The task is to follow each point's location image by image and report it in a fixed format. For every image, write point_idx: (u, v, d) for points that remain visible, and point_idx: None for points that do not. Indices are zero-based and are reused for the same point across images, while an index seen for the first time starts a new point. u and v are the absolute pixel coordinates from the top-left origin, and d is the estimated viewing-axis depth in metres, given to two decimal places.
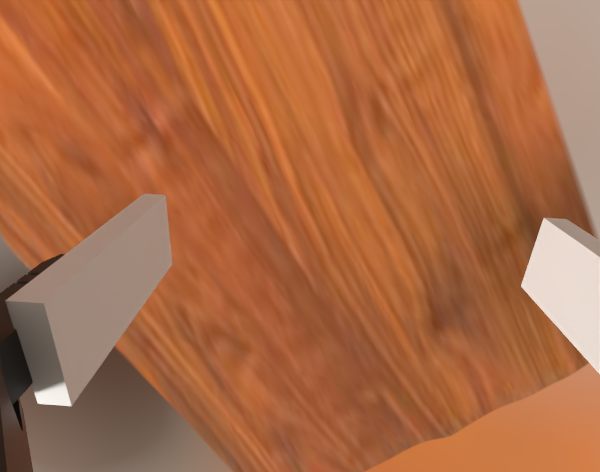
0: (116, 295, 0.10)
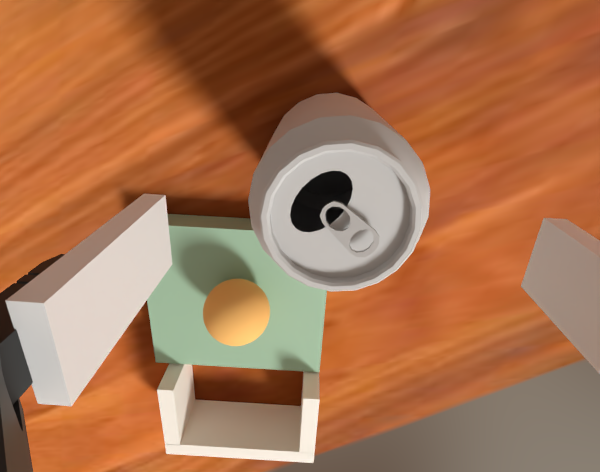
0: (116, 295, 0.10)
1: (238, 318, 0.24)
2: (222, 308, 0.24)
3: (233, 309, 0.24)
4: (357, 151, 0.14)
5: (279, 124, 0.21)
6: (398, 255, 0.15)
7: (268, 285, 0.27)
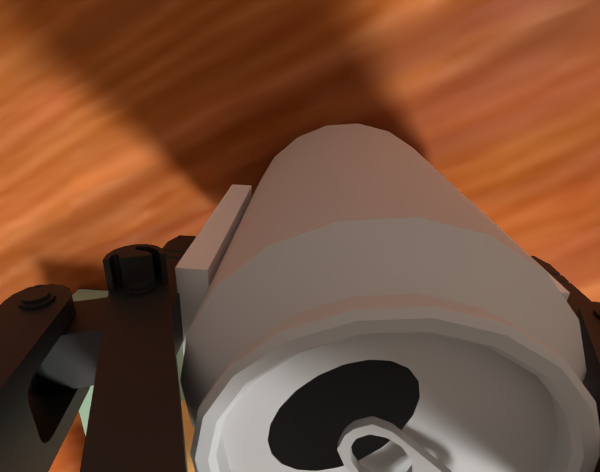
0: None
1: None
2: None
3: None
4: (446, 336, 0.05)
5: (263, 179, 0.13)
6: None
7: None
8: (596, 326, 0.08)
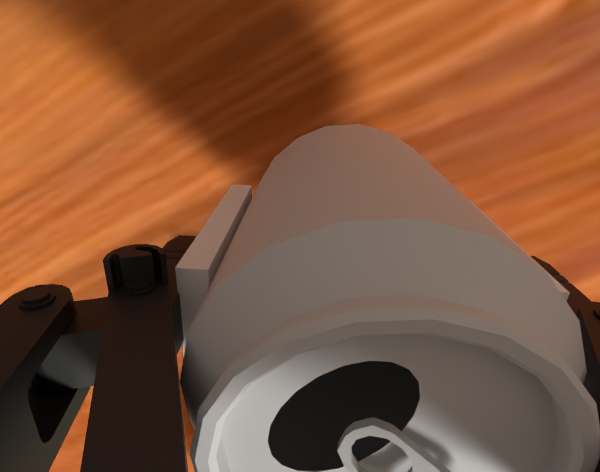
0: None
1: None
2: None
3: None
4: (448, 337, 0.05)
5: (263, 179, 0.13)
6: None
7: None
8: (595, 326, 0.08)
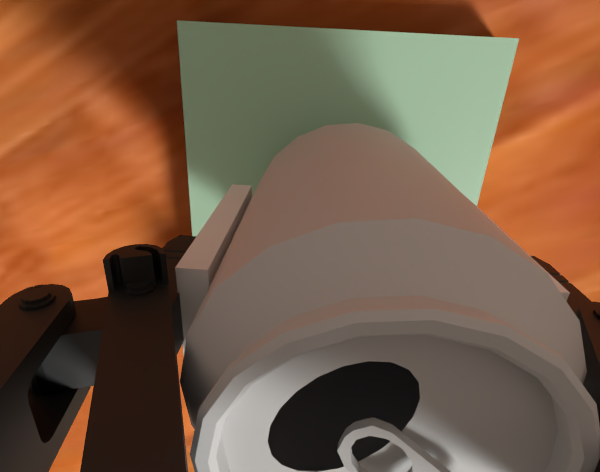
0: None
1: None
2: None
3: None
4: (447, 338, 0.05)
5: (263, 179, 0.13)
6: None
7: None
8: (596, 326, 0.08)
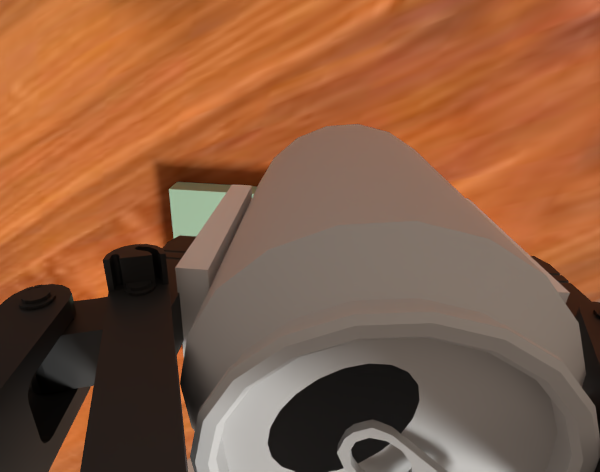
0: None
1: None
2: None
3: None
4: (447, 341, 0.05)
5: (263, 180, 0.13)
6: None
7: None
8: (596, 326, 0.08)
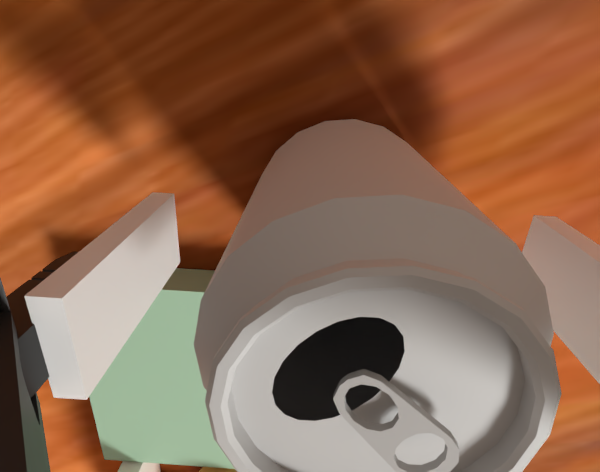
0: (128, 292, 0.10)
1: None
2: None
3: None
4: (424, 291, 0.06)
5: (266, 170, 0.14)
6: None
7: None
8: None
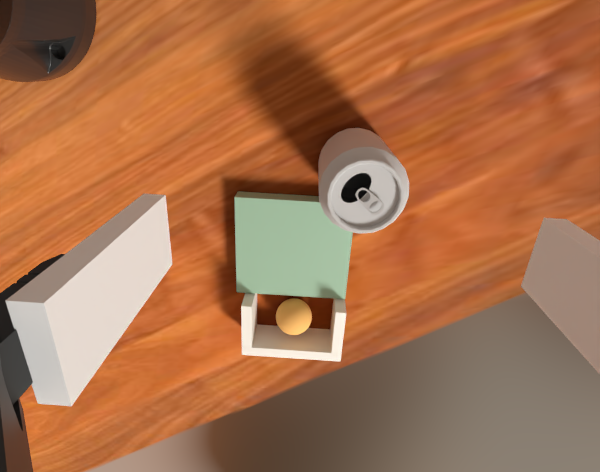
0: (116, 295, 0.10)
1: (298, 299, 0.47)
2: None
3: None
4: (374, 164, 0.30)
5: (327, 146, 0.38)
6: (393, 214, 0.31)
7: (314, 237, 0.43)
8: None
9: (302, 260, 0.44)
